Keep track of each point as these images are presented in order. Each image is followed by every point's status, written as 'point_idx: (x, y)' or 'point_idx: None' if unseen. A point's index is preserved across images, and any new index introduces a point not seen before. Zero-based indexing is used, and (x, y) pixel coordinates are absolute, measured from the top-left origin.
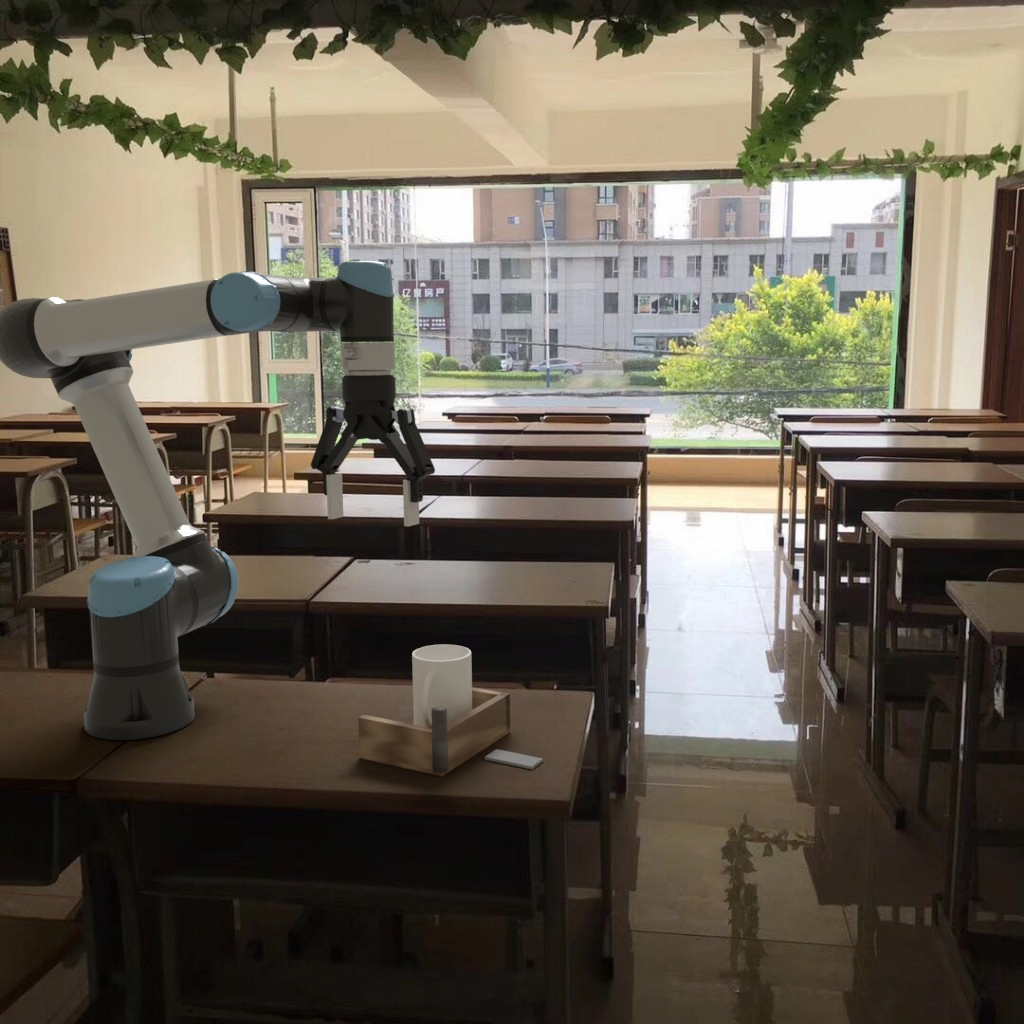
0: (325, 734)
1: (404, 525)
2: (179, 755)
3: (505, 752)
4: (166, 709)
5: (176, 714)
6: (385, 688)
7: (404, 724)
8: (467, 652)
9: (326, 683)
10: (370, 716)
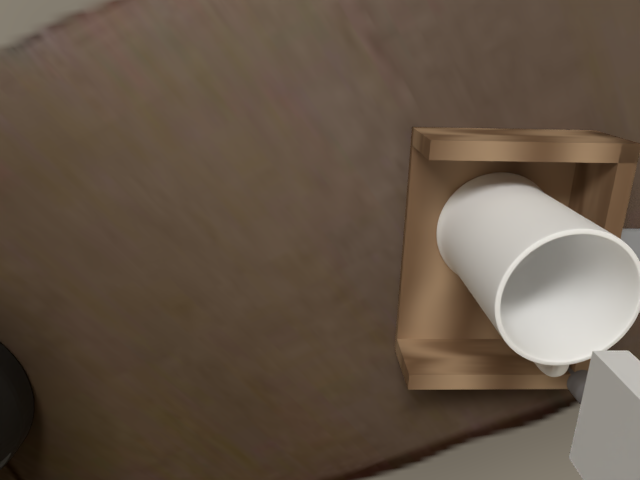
0: (275, 294)
1: (573, 460)
2: (129, 457)
3: (624, 236)
4: (7, 437)
5: (18, 413)
6: (204, 4)
7: (505, 381)
8: (621, 250)
9: (50, 40)
10: (426, 377)
